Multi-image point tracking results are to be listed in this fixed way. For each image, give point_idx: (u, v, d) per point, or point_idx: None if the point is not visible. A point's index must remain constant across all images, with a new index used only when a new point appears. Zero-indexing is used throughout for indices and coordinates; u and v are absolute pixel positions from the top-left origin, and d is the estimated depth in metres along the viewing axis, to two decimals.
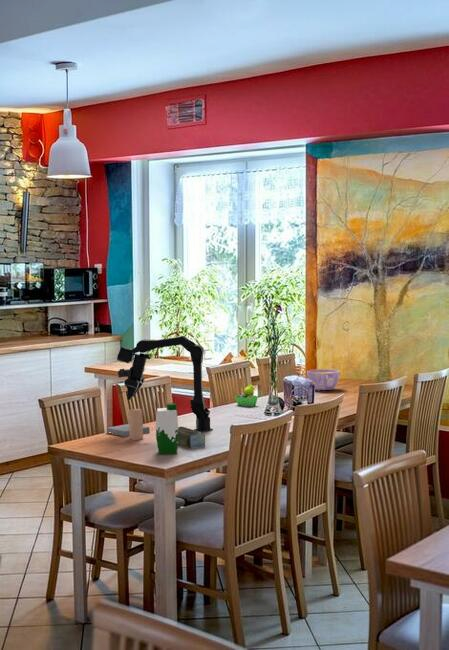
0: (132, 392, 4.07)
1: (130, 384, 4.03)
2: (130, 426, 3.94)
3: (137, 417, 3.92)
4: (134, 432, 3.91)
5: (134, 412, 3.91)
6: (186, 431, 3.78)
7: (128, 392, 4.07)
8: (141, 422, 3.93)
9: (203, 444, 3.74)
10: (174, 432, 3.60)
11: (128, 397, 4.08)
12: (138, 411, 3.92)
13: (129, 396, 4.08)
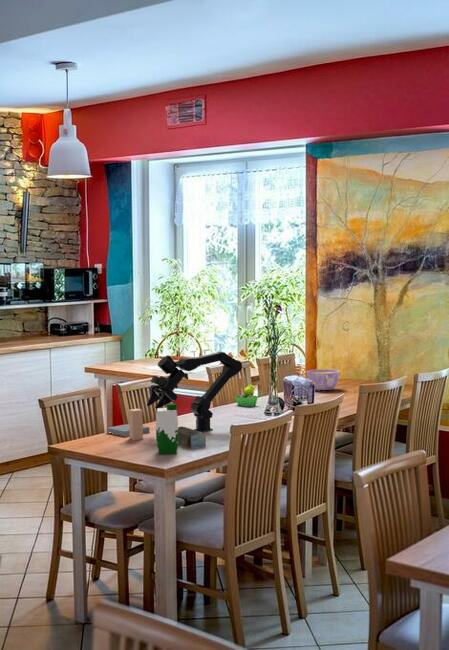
0: (164, 403, 3.94)
1: (171, 395, 3.92)
2: (130, 426, 3.94)
3: (137, 417, 3.92)
4: (134, 432, 3.91)
5: (134, 412, 3.91)
6: (186, 431, 3.78)
7: (160, 401, 3.93)
8: (141, 422, 3.93)
9: (203, 444, 3.74)
10: (174, 432, 3.60)
11: (157, 406, 3.93)
12: (138, 411, 3.92)
13: (159, 406, 3.93)
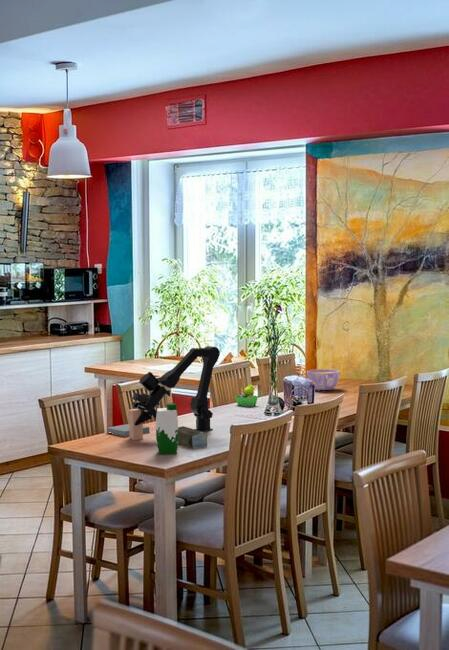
0: (143, 420, 3.92)
1: (152, 413, 3.87)
2: (130, 426, 3.94)
3: (137, 417, 3.92)
4: (134, 432, 3.91)
5: (134, 412, 3.91)
6: (188, 431, 3.79)
7: (140, 418, 3.91)
8: None
9: (205, 444, 3.75)
10: (174, 432, 3.60)
11: (136, 423, 3.91)
12: (138, 411, 3.92)
13: (138, 422, 3.91)
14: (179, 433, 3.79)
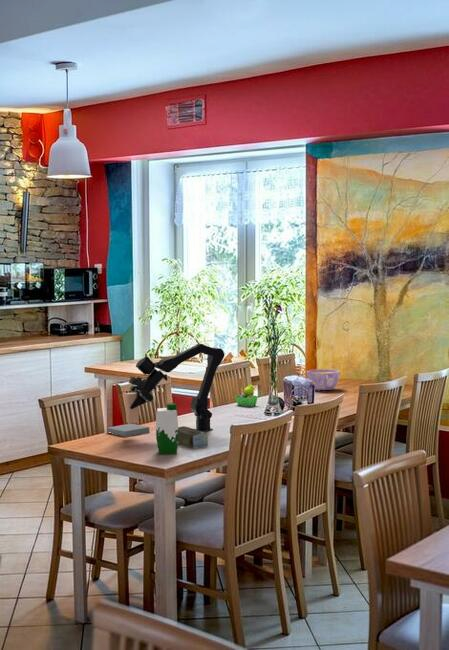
0: (139, 403, 3.94)
1: (146, 396, 3.89)
2: (126, 409, 3.97)
3: (133, 401, 3.94)
4: (130, 415, 3.94)
5: (129, 396, 3.94)
6: (188, 431, 3.79)
7: (135, 402, 3.94)
8: None
9: (206, 444, 3.75)
10: (174, 432, 3.60)
11: (132, 406, 3.94)
12: (134, 395, 3.95)
13: (133, 406, 3.94)
14: (180, 433, 3.79)
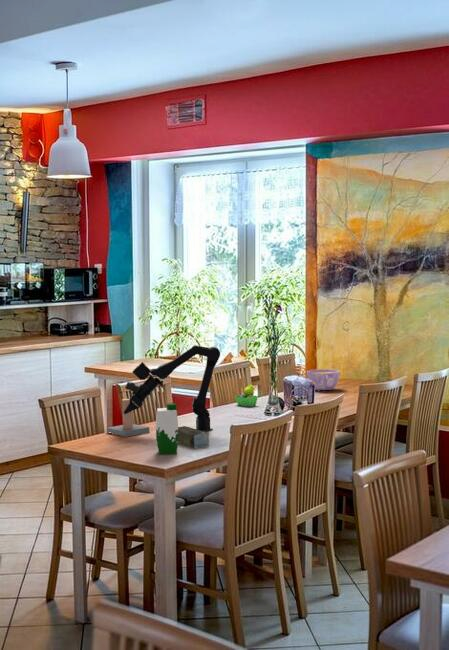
0: (132, 409, 4.02)
1: (135, 402, 3.99)
2: None
3: None
4: (124, 420, 4.06)
5: (123, 401, 4.05)
6: (189, 431, 3.79)
7: (128, 407, 4.02)
8: (131, 412, 4.06)
9: (207, 443, 3.75)
10: (174, 432, 3.60)
11: (125, 411, 4.03)
12: (128, 401, 4.05)
13: (126, 411, 4.03)
14: (181, 433, 3.79)
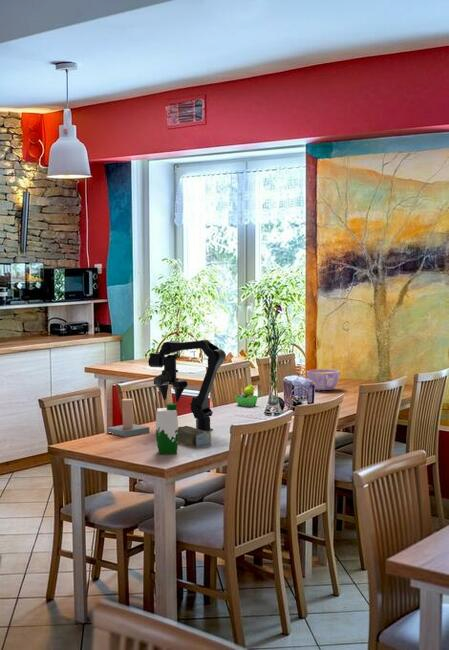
0: (180, 393, 4.14)
1: (183, 385, 4.10)
2: None
3: (127, 406, 4.06)
4: (124, 420, 4.06)
5: (123, 401, 4.05)
6: (191, 430, 3.80)
7: (177, 394, 4.13)
8: (131, 412, 4.06)
9: (209, 443, 3.76)
10: (174, 432, 3.60)
11: (177, 399, 4.14)
12: (128, 401, 4.05)
13: (178, 398, 4.14)
14: (183, 433, 3.79)
